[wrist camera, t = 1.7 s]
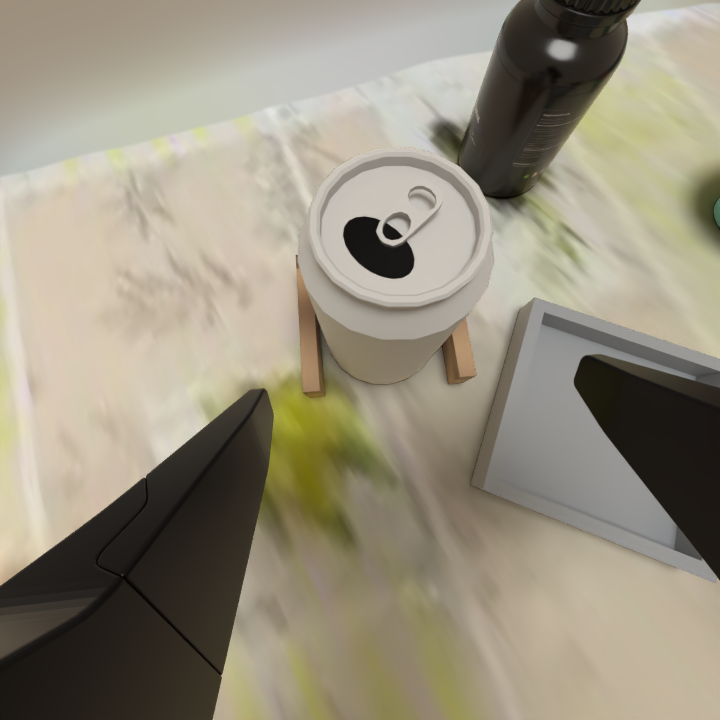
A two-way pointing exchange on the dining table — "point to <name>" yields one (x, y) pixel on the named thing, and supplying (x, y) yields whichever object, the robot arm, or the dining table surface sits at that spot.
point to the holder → (311, 351)
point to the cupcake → (717, 212)
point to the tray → (579, 433)
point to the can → (394, 259)
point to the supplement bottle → (540, 87)
